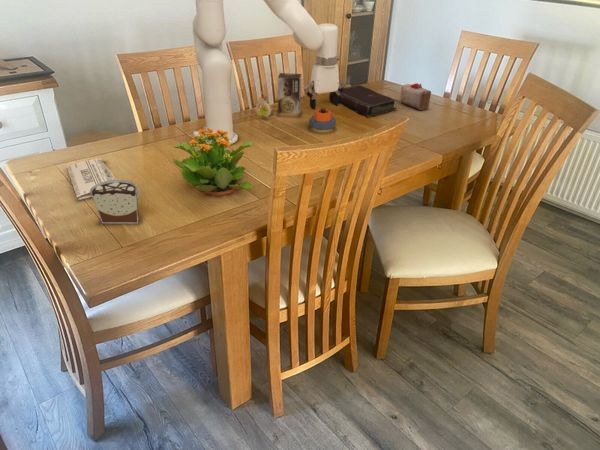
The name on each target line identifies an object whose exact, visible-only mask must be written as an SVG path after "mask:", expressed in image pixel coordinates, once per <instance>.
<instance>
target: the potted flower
mask: <svg viewBox="0 0 600 450" xmlns="http://www.w3.org/2000/svg"><path fill="white" fill-rule="evenodd" d="M198 131H199V135H200V136H199V135H198V137H196V139H191V140H189V143H188V142H187V141H183V142H182V143H176V144H175V145H174V146H173V148H175V149H180V150H183V151H185V152H187V153H188V154H190V155H189V158H188V157H185V158H183V159H182V160H181V161H179V160H178V159H174V158H173V159H172V161H173V163H174V164H175V165H176V166H177V167H179V168H181V175H182V179H183V180H184V181H185V182H186V183H188V184H189V185H193V186H195V187H194V189H196V190H198V191H200V192H201V191H202V192H205V193H206V194H208V195H210V196H217V197H219V196H227V195H229V194H231V193H233V192H234V191H235V190H236V189H240V190H241V189H245V190H246V189H248V190H249V189H253V188H254V187H253V184H252V183H251V182H250V183H249V182H248V181H247V180H245V181H243V182H241V183H240V184H237V182H236V181H237V180H239V179H241V178H242V177H243V176H244V174H245V170H246V167H245V166H241V165H239V166H238V165H237V164H238V163H239V161H240V160H241V159H242V157H243V154H244V153H245V151H243V150H244V149H246V148H251V147H253V145H254V143H253V142H252V141H249V140H247V141H244V142H243V143H242V144H241V145H240V146H239V147H238V148H237V149H232V150H231V151H230V149H227V148H229V147H230V146H231V144H230V143H229V138H228V135H227V134H228V132H227V131H226V132H225V131H224V132H223V130H222V131H221V130H217V133H212V132H213V130H212V129H210V128H208V131H207V130H204V129H199V130H198ZM206 132H207V133H206ZM205 135H207V136H206V139H208V140H207V141H206V139H205ZM219 137H221V138H222V139H223V138H224V140H222V139H221V138H220V139H219ZM213 139H214V140H213ZM209 140H210V142H211V140H212V142H211V144H206V142H209ZM210 142H209V143H210ZM196 147H198V150H196Z"/></svg>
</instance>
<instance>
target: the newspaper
mask: <svg viewBox="0 0 600 450" xmlns="http://www.w3.org/2000/svg"><path fill="white" fill-rule="evenodd" d="M66 170H67V173H68V176H69V179H70V183H71V185H72V187H73V190H74V193H75V196H76V199H77V200H79V201H80V200H85V199H88V198H93V197H92V195H91V196H90V193H89V192H90V189H91V188H92V187H93V186H95V185H96V184H98V183H101V182H104V181H108V180H116V179H117V178H116V177H115V175H114V174H113V172H112V171H111V169H110V168H109V167H108V166H107V165H106V164H105V163H104V161H103V160H102V159H101V158H98V157H96V158H91V159H86V160H82V161H78V162H74V163H72V164H69V165H67V166H66Z"/></svg>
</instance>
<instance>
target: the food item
mask: <svg viewBox="0 0 600 450" xmlns="http://www.w3.org/2000/svg"><path fill="white" fill-rule="evenodd" d="M431 94H432V91H431V90H428V89H426V88H424V87H423V85H422V83H418V82H416V83H412V84H411V83H406V84H403V85H401V93H400V103H401V104H403V105H406V106H409V107H411V108H414V109H416V110H417V111H423V110H428V109H429V107H430V106H429V105H430V102H431Z"/></svg>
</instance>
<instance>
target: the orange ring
mask: <svg viewBox="0 0 600 450" xmlns="http://www.w3.org/2000/svg"><path fill="white" fill-rule="evenodd" d="M325 109H326V113H320V110H321V108H316V109H315V110H313V111H314V112H313V116H314V119H315V120H316V121H320V122H327V121H330V120H331V119H332V117H333V111H332V110H331V109H329V108H325Z"/></svg>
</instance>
